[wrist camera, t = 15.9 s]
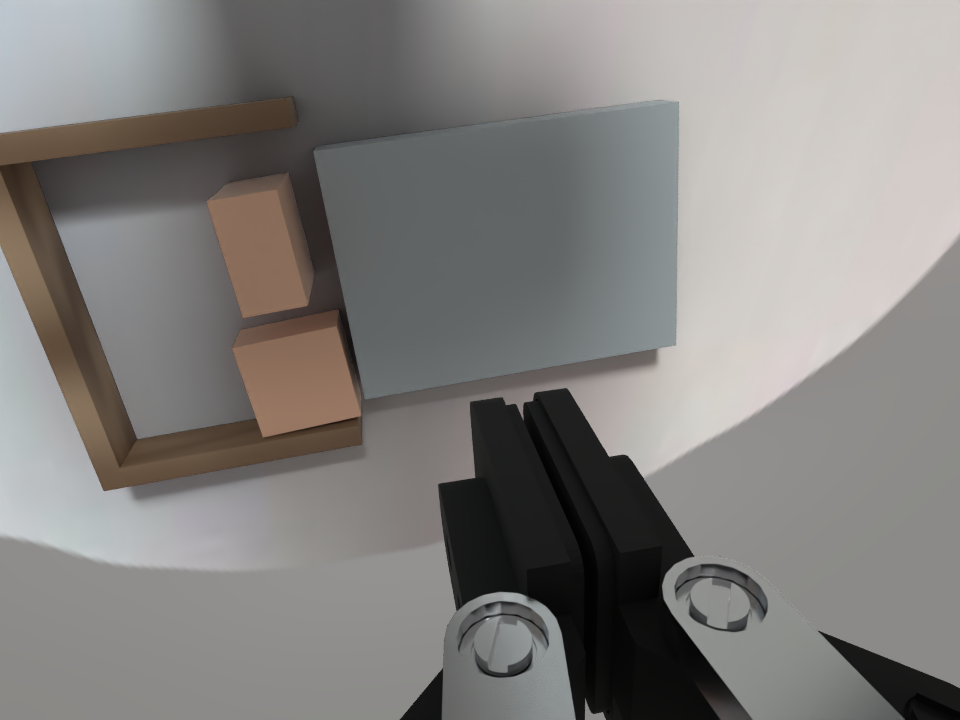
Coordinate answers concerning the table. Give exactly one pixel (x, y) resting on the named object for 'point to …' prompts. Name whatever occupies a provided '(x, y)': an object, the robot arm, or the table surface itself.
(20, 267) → the tray
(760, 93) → the table surface
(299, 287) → the tile
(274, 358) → the tile
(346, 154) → the board
